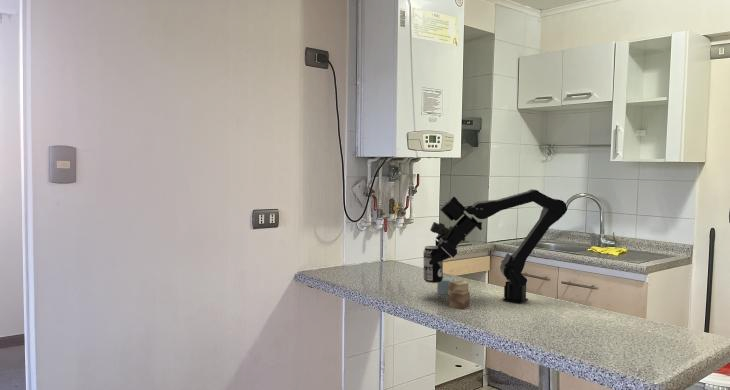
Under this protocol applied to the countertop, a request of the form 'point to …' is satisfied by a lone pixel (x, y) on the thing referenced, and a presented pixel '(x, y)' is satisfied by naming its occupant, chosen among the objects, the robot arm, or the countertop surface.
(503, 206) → the robot arm
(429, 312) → the countertop surface
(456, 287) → the oak block
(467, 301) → the walnut block
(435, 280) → the beverage can
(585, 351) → the countertop surface
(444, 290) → the slate block
